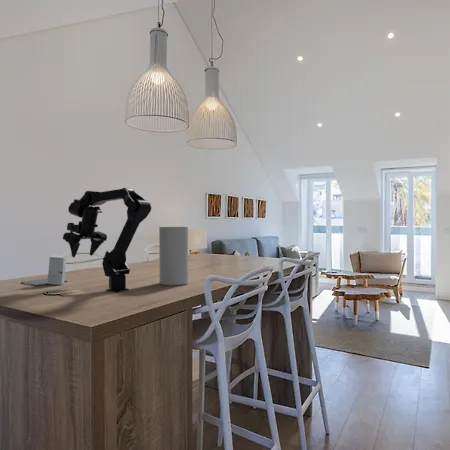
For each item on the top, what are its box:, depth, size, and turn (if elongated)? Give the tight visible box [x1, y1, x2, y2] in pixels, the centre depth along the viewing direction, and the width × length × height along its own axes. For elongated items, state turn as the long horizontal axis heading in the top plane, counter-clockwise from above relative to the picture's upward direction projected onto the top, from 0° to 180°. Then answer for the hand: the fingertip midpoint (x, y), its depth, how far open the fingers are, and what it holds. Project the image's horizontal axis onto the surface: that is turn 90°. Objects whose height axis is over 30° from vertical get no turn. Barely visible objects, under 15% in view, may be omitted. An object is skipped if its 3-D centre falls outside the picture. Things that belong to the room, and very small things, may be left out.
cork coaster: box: [59, 290, 86, 297], centre depth 142 cm, size 9×9×1 cm
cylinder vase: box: [158, 226, 189, 287], centre depth 164 cm, size 12×12×25 cm
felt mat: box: [22, 277, 68, 287], centre depth 168 cm, size 14×14×1 cm
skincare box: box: [47, 254, 67, 286], centre depth 163 cm, size 6×4×12 cm
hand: (82, 256), depth 157 cm, fingers open, 9 cm apart
